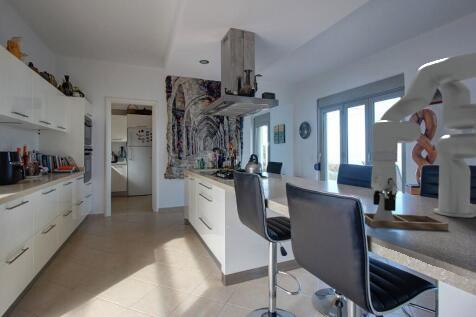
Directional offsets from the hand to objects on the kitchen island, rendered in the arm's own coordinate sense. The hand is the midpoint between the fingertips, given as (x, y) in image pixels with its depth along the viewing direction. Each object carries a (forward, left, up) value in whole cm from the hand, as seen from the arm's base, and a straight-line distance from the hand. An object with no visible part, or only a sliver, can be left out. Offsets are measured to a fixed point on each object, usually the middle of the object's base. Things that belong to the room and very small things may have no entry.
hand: (383, 207), depth 89 cm
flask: (0, 0, -5) cm, 5 cm away
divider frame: (-5, 0, -5) cm, 8 cm away
